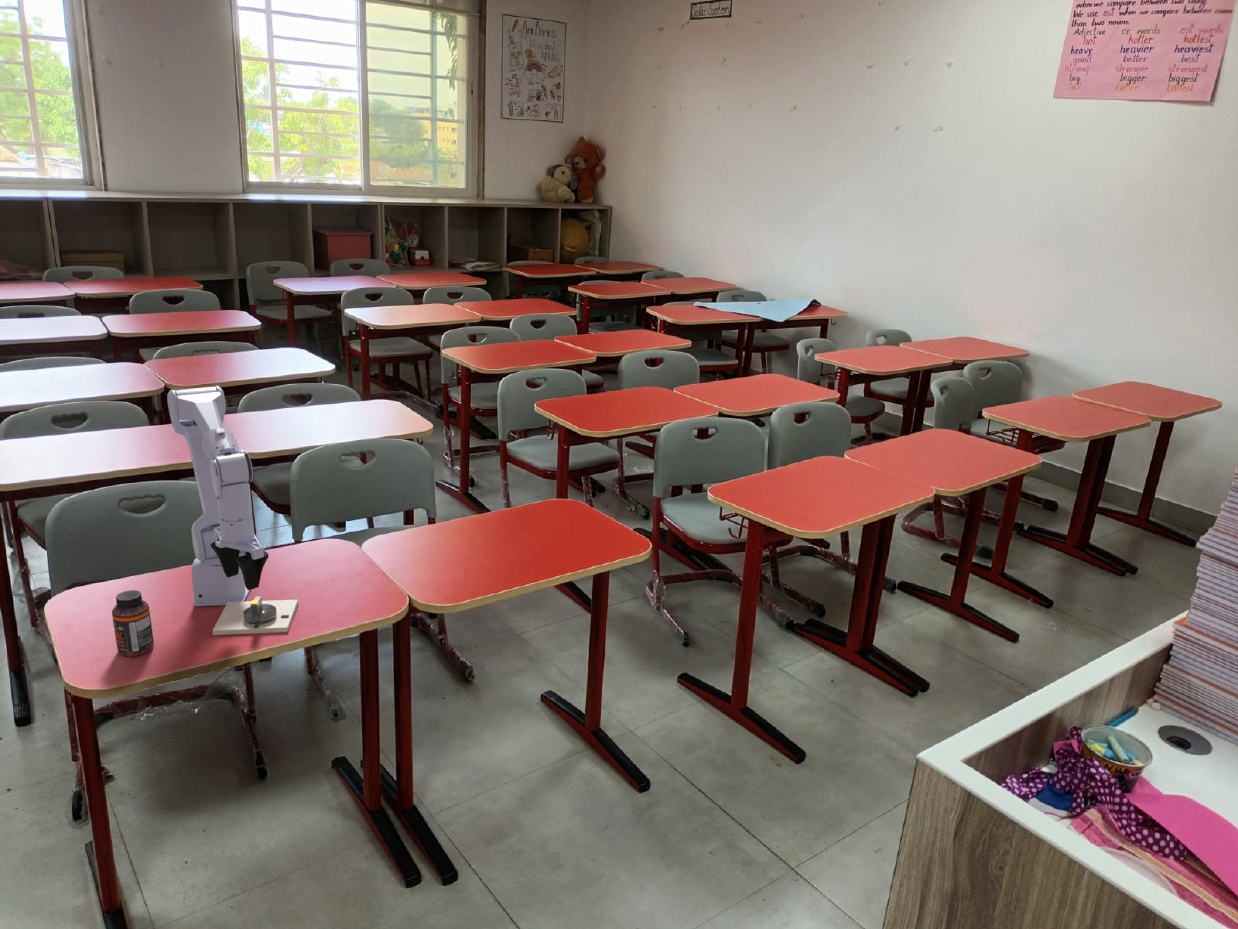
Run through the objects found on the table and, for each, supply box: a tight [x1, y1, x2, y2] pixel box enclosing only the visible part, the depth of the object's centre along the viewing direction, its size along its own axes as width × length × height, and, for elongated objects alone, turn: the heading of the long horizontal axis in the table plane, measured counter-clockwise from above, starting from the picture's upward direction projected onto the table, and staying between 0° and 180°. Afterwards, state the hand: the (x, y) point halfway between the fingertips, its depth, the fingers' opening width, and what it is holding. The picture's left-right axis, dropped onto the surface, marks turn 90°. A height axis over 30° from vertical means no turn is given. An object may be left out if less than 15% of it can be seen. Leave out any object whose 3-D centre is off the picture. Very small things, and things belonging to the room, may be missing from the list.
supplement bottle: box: [111, 589, 155, 658], centre depth 157 cm, size 6×6×11 cm
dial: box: [243, 596, 277, 624], centre depth 169 cm, size 7×6×5 cm
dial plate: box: [212, 599, 299, 636], centre depth 172 cm, size 14×12×1 cm
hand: (242, 581), depth 165 cm, fingers open, 7 cm apart
